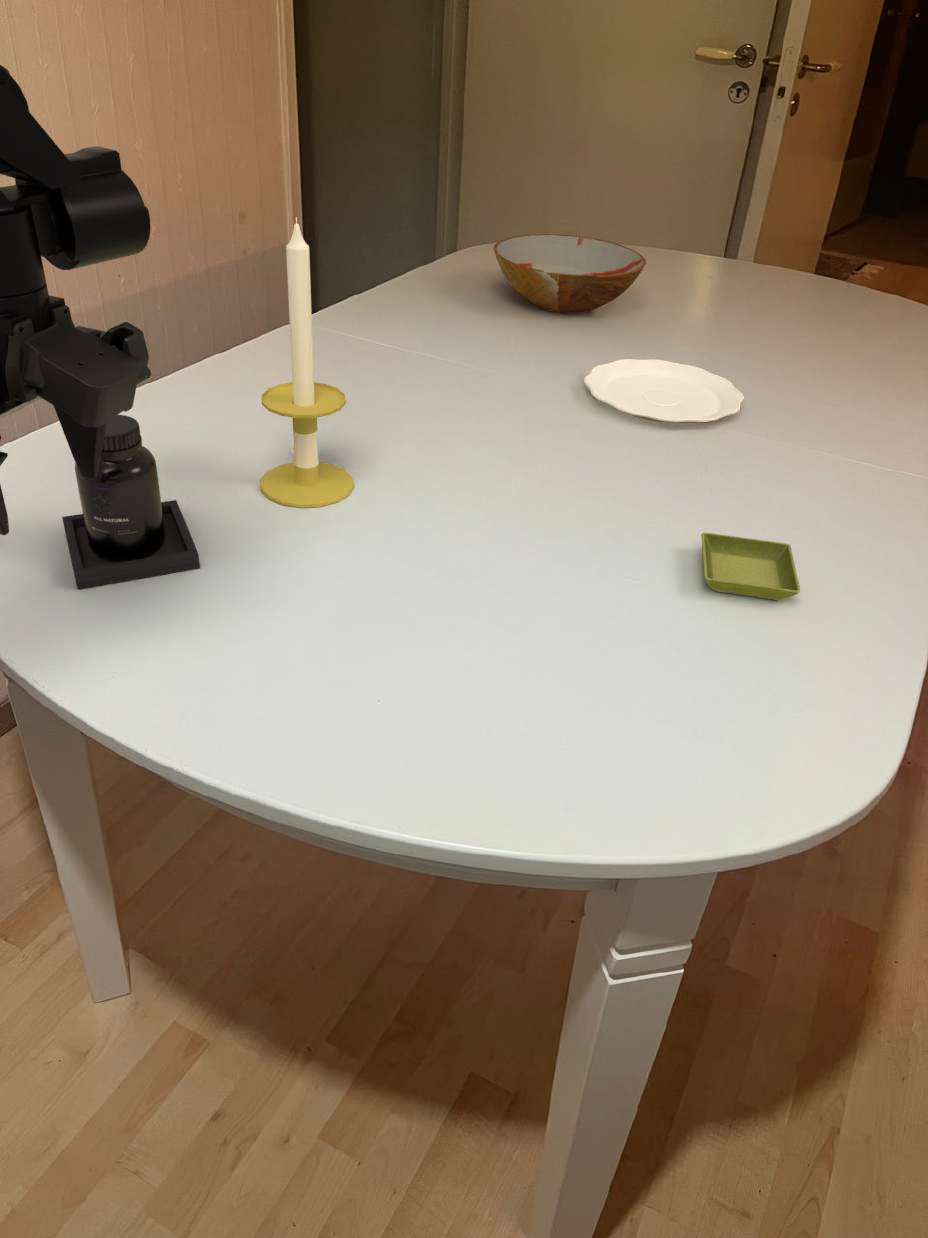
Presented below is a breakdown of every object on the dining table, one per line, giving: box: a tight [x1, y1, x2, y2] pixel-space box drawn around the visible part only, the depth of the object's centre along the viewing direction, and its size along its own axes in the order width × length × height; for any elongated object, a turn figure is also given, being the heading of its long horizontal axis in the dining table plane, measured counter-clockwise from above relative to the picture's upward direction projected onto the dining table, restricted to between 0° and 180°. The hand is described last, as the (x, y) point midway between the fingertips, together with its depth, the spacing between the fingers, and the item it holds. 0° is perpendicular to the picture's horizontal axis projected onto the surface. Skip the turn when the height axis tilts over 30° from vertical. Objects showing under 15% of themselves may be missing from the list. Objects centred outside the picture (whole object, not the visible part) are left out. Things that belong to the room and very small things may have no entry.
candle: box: [259, 216, 355, 509], centre depth 91 cm, size 10×10×27 cm
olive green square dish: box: [700, 532, 801, 601], centre depth 88 cm, size 9×9×2 cm
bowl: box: [493, 233, 647, 314], centre depth 154 cm, size 25×25×8 cm
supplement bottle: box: [74, 414, 165, 561], centre depth 83 cm, size 7×7×12 cm
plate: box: [583, 358, 745, 424], centre depth 124 cm, size 21×21×2 cm
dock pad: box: [61, 499, 201, 590], centre depth 86 cm, size 11×11×2 cm
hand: (48, 503), depth 67 cm, fingers open, 9 cm apart
